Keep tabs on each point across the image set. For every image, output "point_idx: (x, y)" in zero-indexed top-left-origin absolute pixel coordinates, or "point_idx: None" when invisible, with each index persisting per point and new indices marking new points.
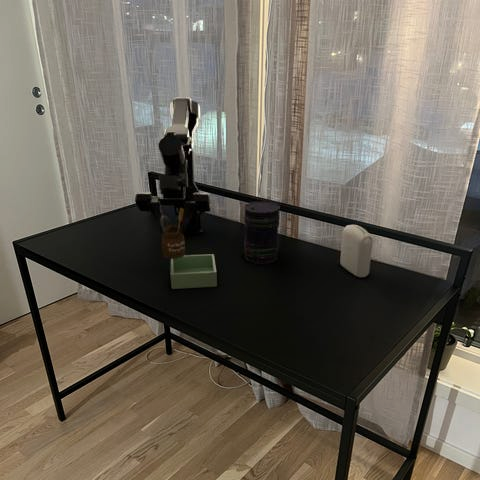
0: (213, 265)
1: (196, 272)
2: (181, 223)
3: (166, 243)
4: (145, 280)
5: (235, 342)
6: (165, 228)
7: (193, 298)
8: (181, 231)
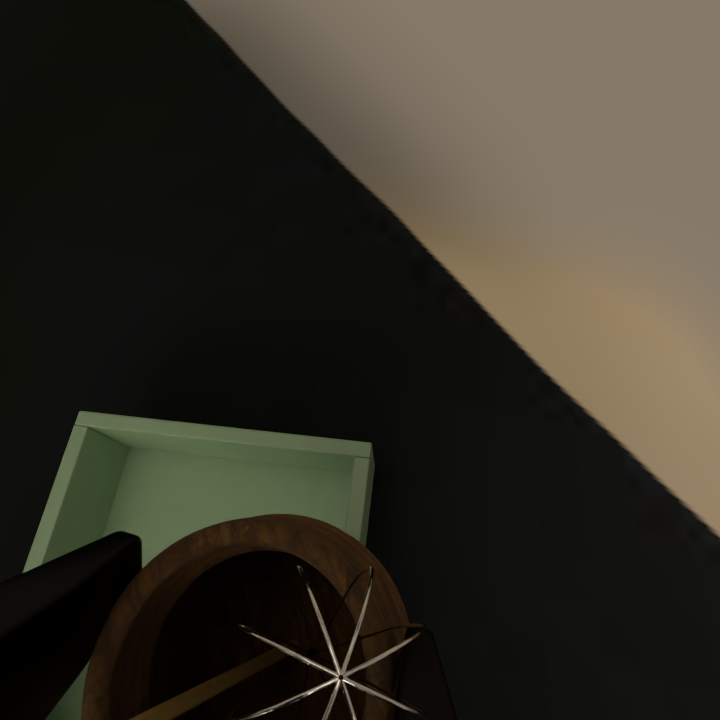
0: (54, 519)
1: (199, 435)
2: (36, 614)
3: (364, 547)
4: (535, 635)
5: (214, 46)
6: (337, 717)
7: (279, 338)
8: (127, 532)
